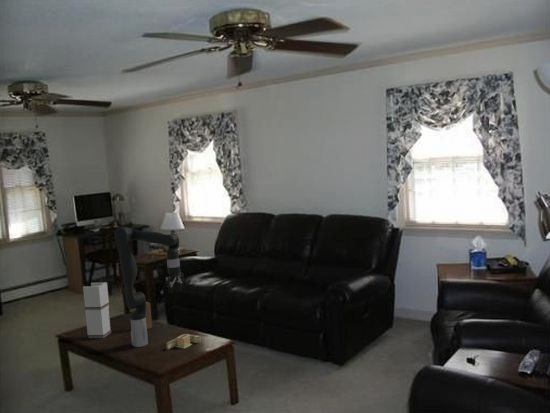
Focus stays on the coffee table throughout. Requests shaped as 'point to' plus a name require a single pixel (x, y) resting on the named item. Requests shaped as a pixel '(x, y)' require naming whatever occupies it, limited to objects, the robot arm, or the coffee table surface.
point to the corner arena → (174, 343)
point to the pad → (183, 347)
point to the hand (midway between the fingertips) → (175, 291)
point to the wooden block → (148, 316)
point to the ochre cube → (183, 340)
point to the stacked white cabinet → (97, 310)
